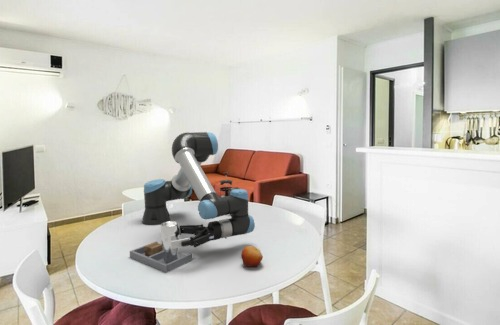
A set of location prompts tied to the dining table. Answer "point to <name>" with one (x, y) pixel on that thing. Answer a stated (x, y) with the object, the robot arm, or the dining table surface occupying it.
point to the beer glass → (169, 240)
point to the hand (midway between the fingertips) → (167, 239)
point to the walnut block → (153, 249)
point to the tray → (159, 259)
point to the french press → (226, 186)
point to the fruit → (251, 256)
